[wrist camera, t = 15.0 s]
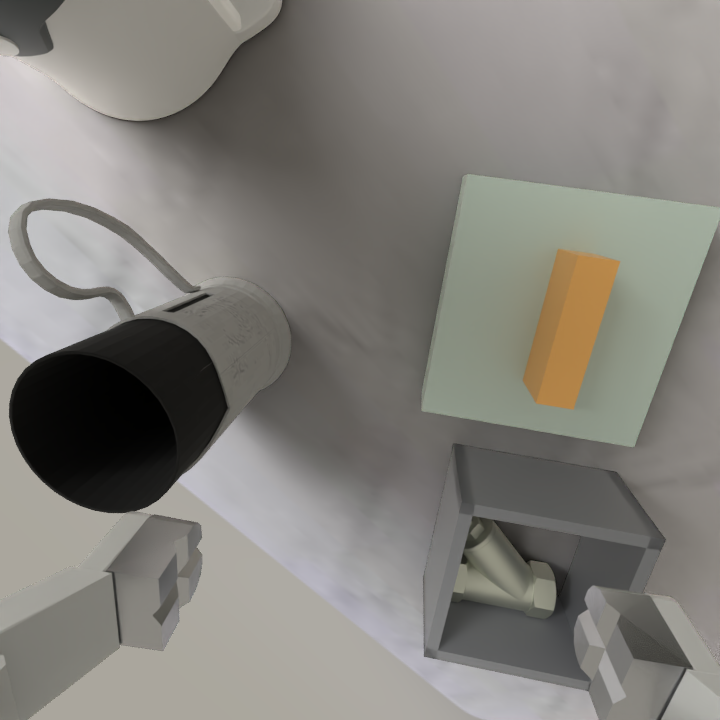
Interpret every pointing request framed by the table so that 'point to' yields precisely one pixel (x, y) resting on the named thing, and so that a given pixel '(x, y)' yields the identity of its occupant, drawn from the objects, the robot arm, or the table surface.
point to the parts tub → (541, 510)
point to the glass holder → (140, 379)
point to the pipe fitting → (502, 574)
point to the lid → (561, 306)
